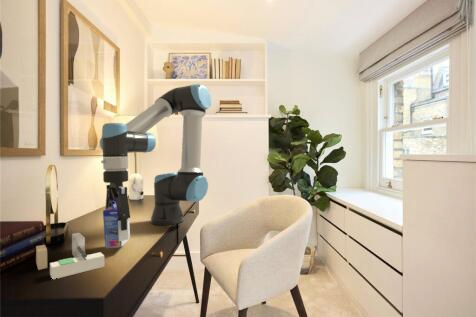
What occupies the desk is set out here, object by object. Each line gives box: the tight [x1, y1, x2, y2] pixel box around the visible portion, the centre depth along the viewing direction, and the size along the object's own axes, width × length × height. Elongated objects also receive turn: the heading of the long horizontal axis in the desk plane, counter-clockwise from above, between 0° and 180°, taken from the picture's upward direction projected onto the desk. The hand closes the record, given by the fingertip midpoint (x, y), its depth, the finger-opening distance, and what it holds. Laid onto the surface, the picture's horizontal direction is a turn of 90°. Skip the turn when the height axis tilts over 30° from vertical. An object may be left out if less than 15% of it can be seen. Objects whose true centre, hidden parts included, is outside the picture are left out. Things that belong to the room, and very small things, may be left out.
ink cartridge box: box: [102, 200, 131, 249], centre depth 89 cm, size 10×6×14 cm, turn 7°
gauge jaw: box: [71, 232, 88, 258], centre depth 78 cm, size 2×17×6 cm, turn 41°
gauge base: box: [35, 244, 105, 280], centre depth 75 cm, size 14×16×5 cm
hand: (117, 236), depth 89 cm, fingers closed on ink cartridge box, 11 cm apart
